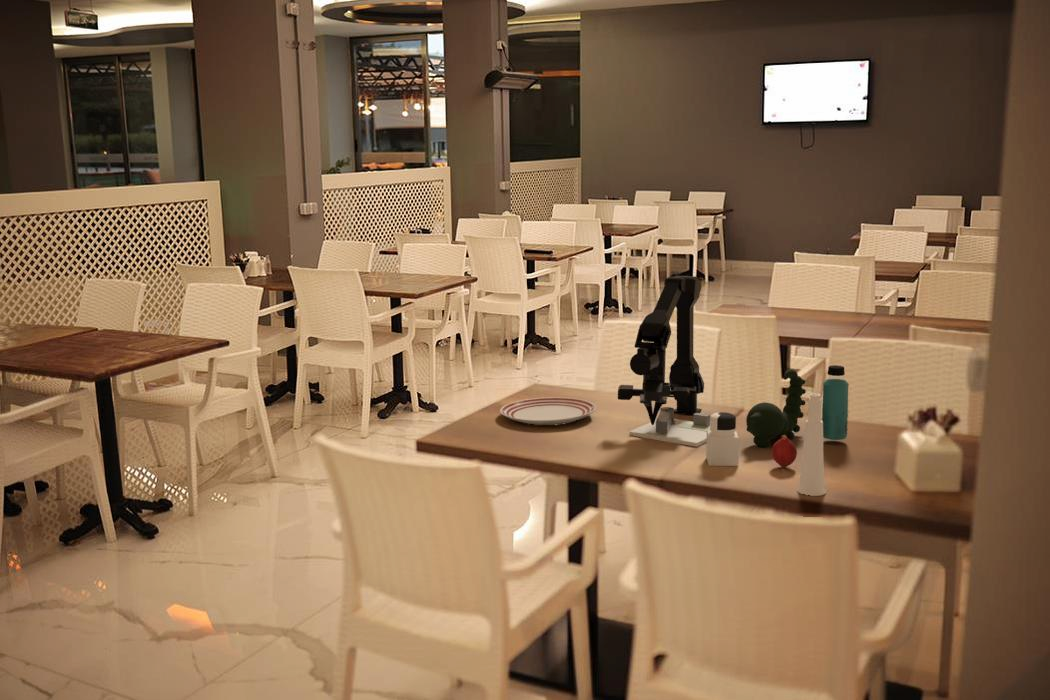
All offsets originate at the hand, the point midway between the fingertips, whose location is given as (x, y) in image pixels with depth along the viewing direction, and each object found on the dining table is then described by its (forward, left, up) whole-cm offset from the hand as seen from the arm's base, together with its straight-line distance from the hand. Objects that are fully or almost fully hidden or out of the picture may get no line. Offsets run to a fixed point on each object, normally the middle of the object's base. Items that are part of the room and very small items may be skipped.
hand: (652, 424), depth 270 cm
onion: (+8, +40, -3) cm, 41 cm away
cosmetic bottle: (+21, +52, -3) cm, 56 cm away
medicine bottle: (+12, +26, -3) cm, 29 cm away
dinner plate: (+1, -34, -3) cm, 34 cm away
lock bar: (-4, +2, -1) cm, 4 cm away
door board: (-5, +5, -3) cm, 8 cm away
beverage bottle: (-19, +42, -3) cm, 46 cm away
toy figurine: (-12, +29, -3) cm, 32 cm away
